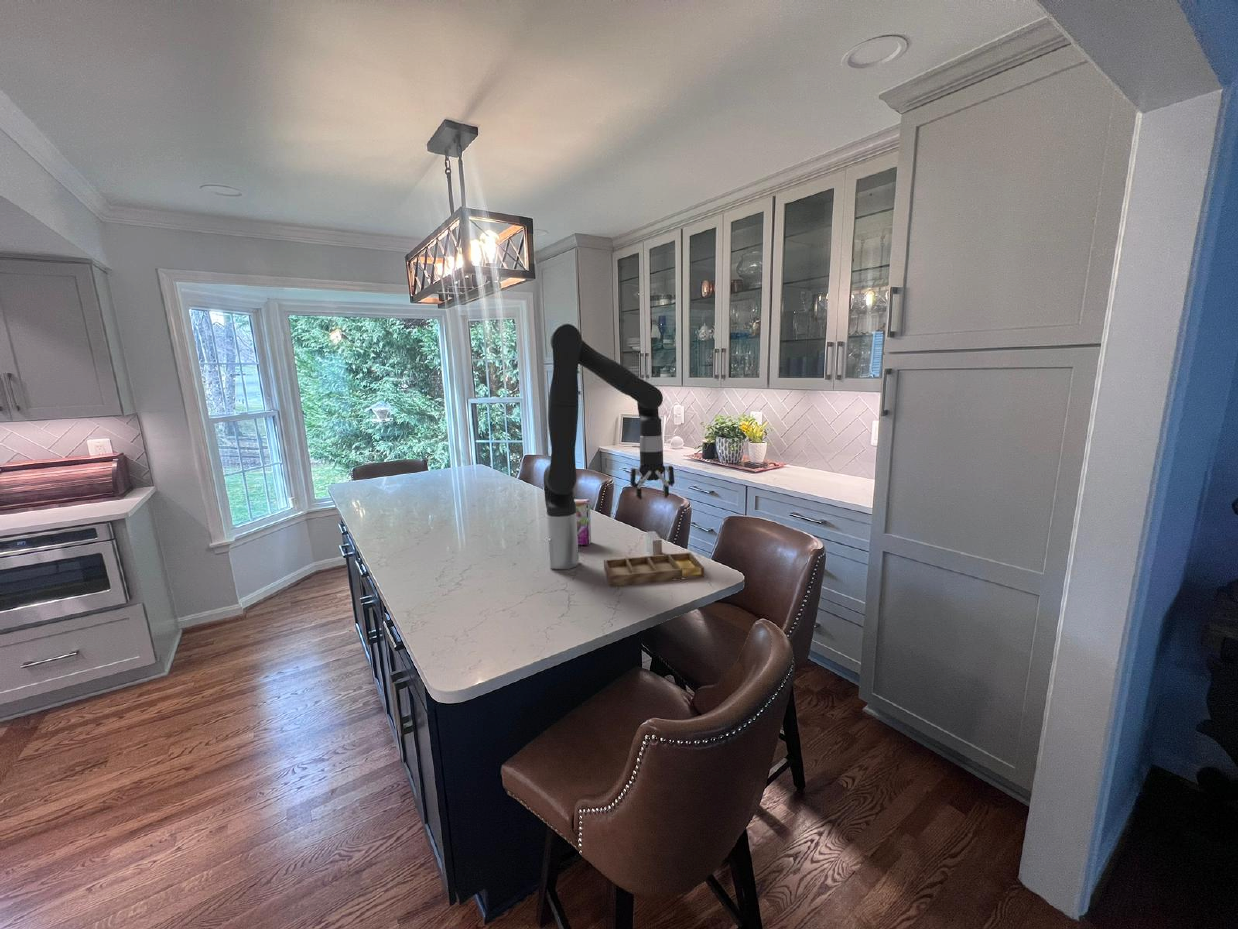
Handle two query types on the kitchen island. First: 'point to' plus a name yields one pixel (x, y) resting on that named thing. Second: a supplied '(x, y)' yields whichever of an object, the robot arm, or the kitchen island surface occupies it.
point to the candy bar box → (583, 521)
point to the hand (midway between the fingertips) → (652, 498)
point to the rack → (652, 569)
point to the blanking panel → (653, 543)
